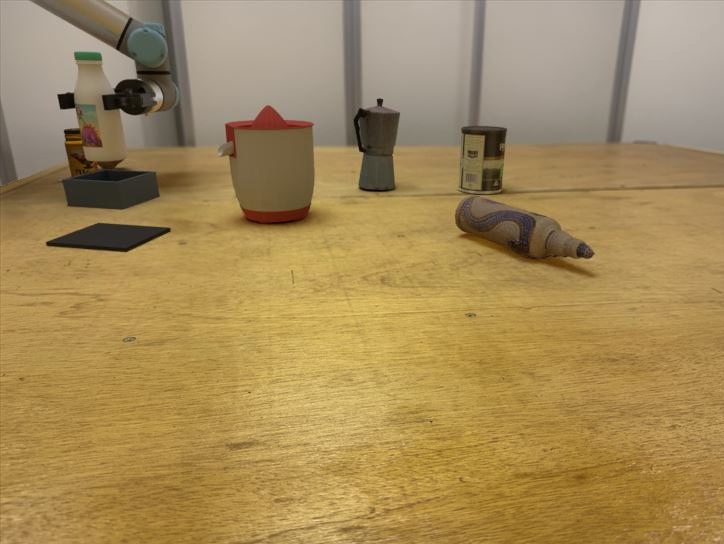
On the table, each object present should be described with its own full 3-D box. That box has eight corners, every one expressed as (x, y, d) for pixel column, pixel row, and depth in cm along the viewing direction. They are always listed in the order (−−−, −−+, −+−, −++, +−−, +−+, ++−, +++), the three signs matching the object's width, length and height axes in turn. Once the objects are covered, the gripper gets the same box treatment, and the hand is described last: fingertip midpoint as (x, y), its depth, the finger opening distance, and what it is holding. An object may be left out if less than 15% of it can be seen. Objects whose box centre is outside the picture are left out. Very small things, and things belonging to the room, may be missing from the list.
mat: (46, 245, 86) (45, 241, 86) (98, 225, 97) (98, 222, 97) (126, 251, 84) (125, 247, 84) (171, 230, 95) (170, 227, 94)
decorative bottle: (450, 235, 94) (452, 196, 91) (483, 229, 98) (486, 192, 95) (569, 280, 74) (576, 232, 72) (605, 271, 78) (612, 225, 76)
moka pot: (410, 185, 134) (411, 97, 126) (376, 196, 122) (375, 100, 114) (377, 181, 138) (376, 96, 131) (341, 191, 126) (338, 99, 118)
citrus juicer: (217, 212, 107) (204, 103, 99) (303, 204, 114) (297, 102, 107) (234, 232, 94) (221, 109, 86) (330, 221, 101) (325, 107, 94)
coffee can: (501, 186, 133) (506, 126, 128) (502, 195, 124) (507, 130, 119) (459, 185, 135) (462, 125, 129) (456, 193, 126) (459, 129, 120)
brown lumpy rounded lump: (124, 166, 154) (117, 129, 150) (134, 170, 148) (127, 132, 144) (88, 169, 149) (80, 131, 145) (97, 174, 143) (89, 134, 139)
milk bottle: (122, 155, 117) (104, 52, 109) (132, 160, 111) (114, 52, 104) (81, 158, 112) (60, 51, 104) (90, 163, 107) (68, 50, 99)
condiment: (90, 182, 133) (79, 130, 128) (57, 181, 133) (45, 130, 129) (108, 177, 139) (98, 127, 135) (76, 176, 140) (66, 127, 135)
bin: (67, 205, 111) (61, 179, 108) (109, 193, 122) (104, 169, 120) (122, 209, 108) (117, 182, 106) (159, 196, 120) (155, 171, 118)
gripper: (186, 115, 125) (140, 124, 104) (96, 113, 126) (33, 122, 104) (181, 79, 122) (133, 81, 101) (89, 78, 123) (23, 79, 102)
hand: (82, 102), depth 103 cm, fingers closed on milk bottle, 8 cm apart
